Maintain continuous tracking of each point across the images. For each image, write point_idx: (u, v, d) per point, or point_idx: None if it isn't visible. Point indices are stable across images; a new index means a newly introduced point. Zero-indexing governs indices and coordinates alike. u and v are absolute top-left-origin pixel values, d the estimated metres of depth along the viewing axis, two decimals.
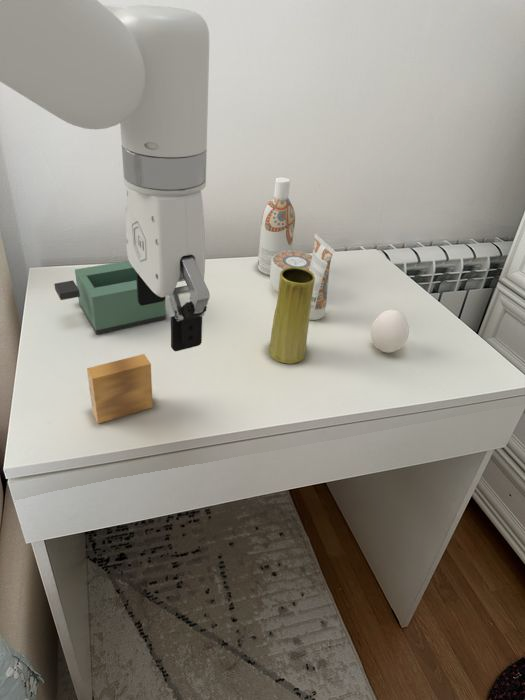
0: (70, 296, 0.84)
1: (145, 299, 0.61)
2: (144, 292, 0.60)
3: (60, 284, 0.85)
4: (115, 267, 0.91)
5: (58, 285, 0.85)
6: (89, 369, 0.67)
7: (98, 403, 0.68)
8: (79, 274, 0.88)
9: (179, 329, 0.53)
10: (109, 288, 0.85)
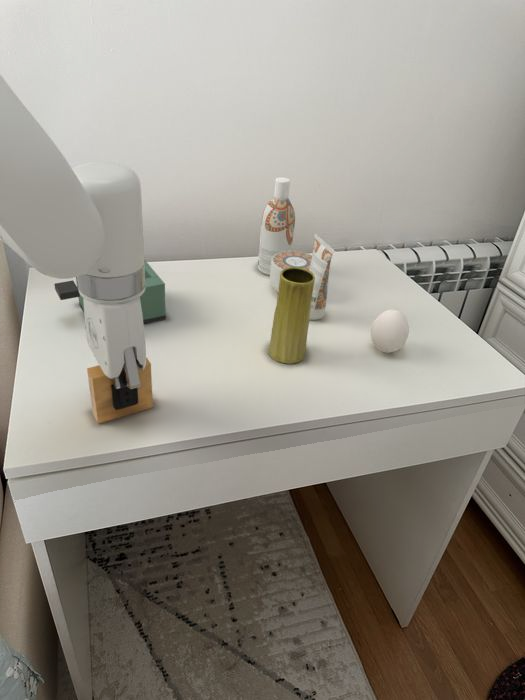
0: (70, 296, 0.84)
1: None
2: None
3: (60, 284, 0.85)
4: None
5: (58, 285, 0.85)
6: (89, 369, 0.67)
7: (98, 403, 0.68)
8: None
9: (119, 394, 0.69)
10: None
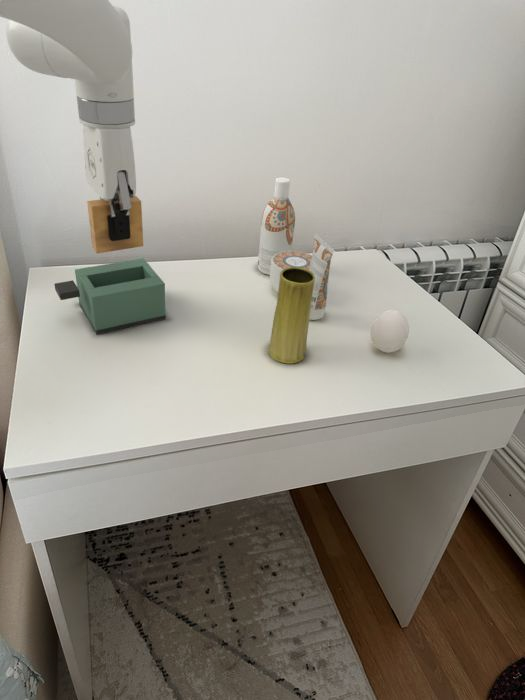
0: (70, 296, 0.84)
1: None
2: None
3: (60, 284, 0.85)
4: (115, 267, 0.91)
5: (58, 285, 0.85)
6: (89, 201, 0.80)
7: (96, 232, 0.81)
8: (79, 274, 0.88)
9: (114, 225, 0.81)
10: (109, 288, 0.85)
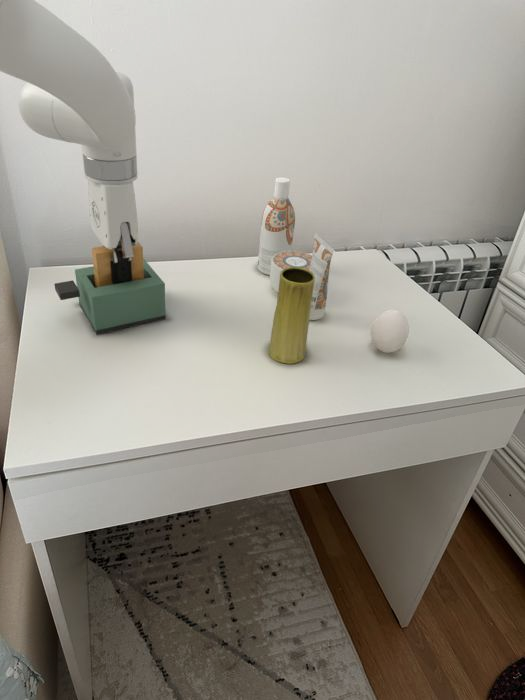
0: (70, 296, 0.84)
1: None
2: None
3: (60, 284, 0.85)
4: None
5: (58, 285, 0.85)
6: (93, 248, 0.84)
7: (100, 277, 0.86)
8: (79, 274, 0.88)
9: (116, 270, 0.86)
10: (109, 288, 0.85)
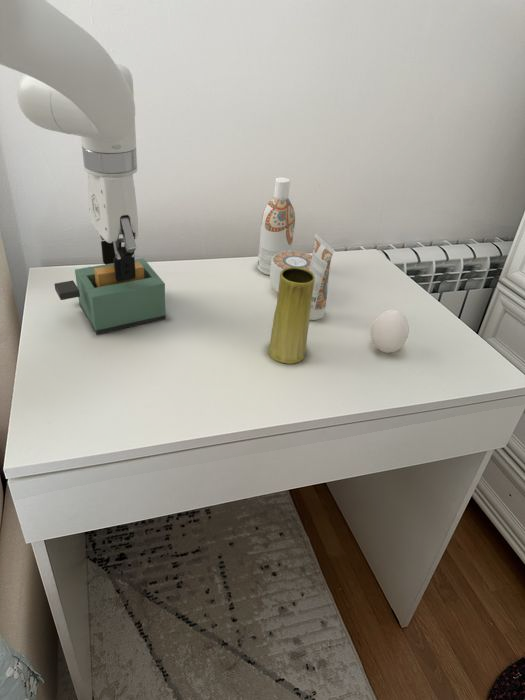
0: (70, 296, 0.84)
1: (108, 259, 0.89)
2: (107, 254, 0.88)
3: (60, 284, 0.85)
4: None
5: (58, 285, 0.85)
6: (95, 269, 0.87)
7: None
8: (79, 274, 0.88)
9: (119, 266, 0.84)
10: (109, 288, 0.85)
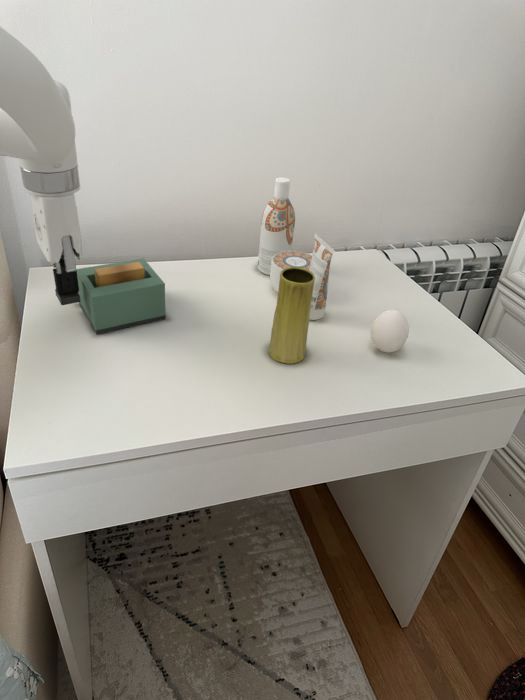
0: (71, 301, 0.85)
1: None
2: None
3: None
4: None
5: None
6: (96, 269, 0.87)
7: None
8: (79, 274, 0.88)
9: (61, 280, 0.83)
10: (109, 288, 0.85)
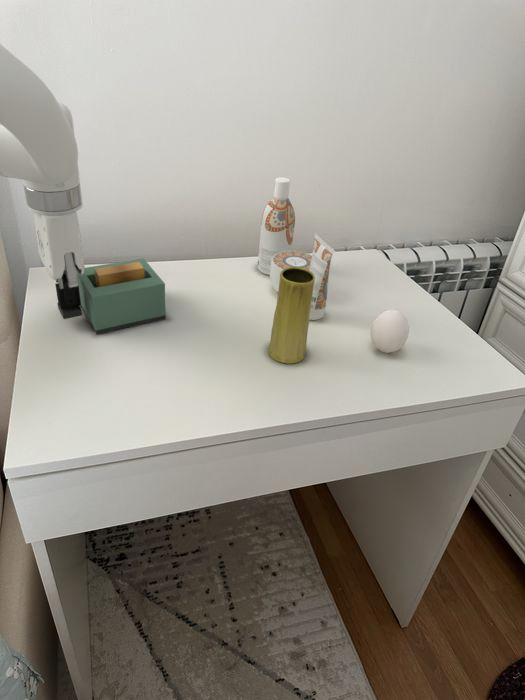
0: (73, 315, 0.86)
1: None
2: None
3: None
4: None
5: None
6: (96, 269, 0.87)
7: None
8: (79, 274, 0.88)
9: (63, 295, 0.85)
10: (109, 288, 0.85)
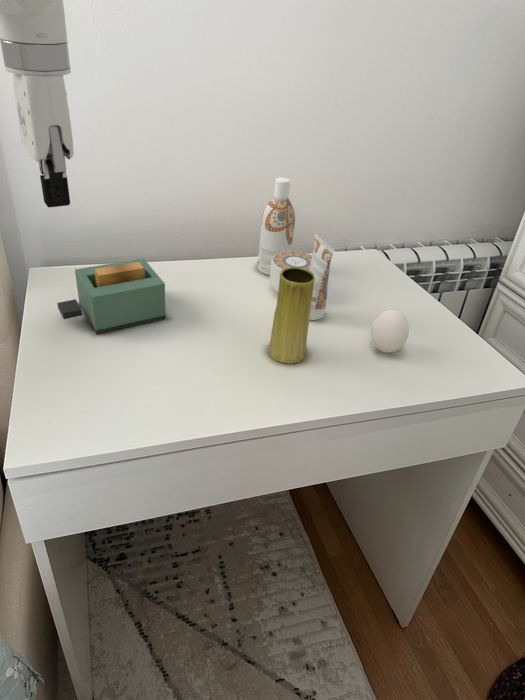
0: (73, 315, 0.86)
1: None
2: None
3: (63, 303, 0.87)
4: None
5: (61, 304, 0.87)
6: (96, 269, 0.87)
7: None
8: (79, 274, 0.88)
9: (49, 189, 0.73)
10: (109, 288, 0.85)
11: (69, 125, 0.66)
